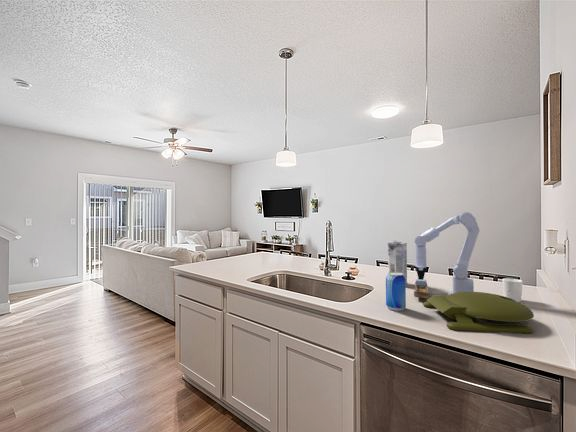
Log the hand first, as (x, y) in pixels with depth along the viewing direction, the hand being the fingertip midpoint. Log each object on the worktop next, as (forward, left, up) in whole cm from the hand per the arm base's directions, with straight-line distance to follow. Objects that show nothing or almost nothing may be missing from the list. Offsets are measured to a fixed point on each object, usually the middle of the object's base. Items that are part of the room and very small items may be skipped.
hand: (420, 280), depth 158 cm
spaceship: (-21, +37, -6) cm, 43 cm away
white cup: (-41, +2, -6) cm, 41 cm away
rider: (0, +6, -2) cm, 6 cm away
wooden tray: (0, +12, -5) cm, 13 cm away
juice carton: (+13, -12, -6) cm, 18 cm away
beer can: (+11, +38, -6) cm, 40 cm away
